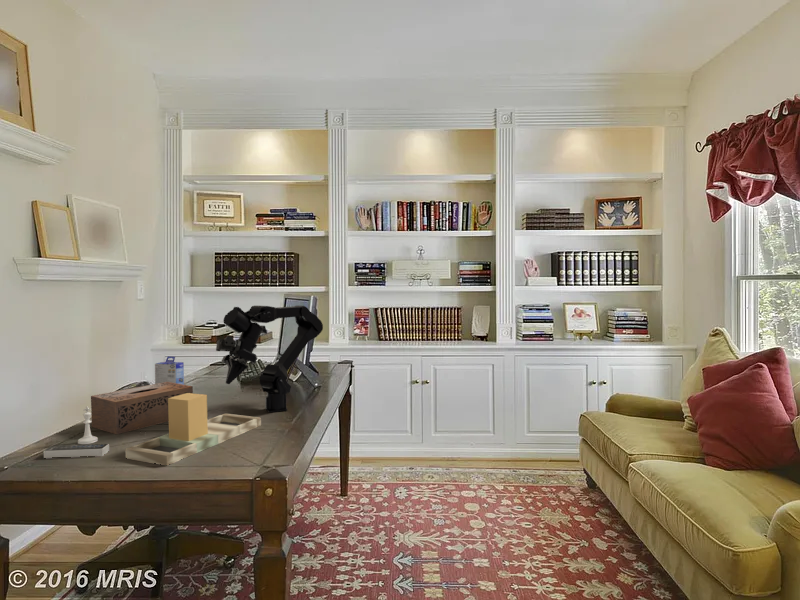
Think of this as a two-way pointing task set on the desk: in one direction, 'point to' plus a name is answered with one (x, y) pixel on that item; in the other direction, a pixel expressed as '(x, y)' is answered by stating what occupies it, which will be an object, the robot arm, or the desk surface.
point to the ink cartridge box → (169, 371)
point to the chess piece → (87, 430)
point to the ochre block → (187, 416)
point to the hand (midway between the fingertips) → (227, 383)
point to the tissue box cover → (134, 407)
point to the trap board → (175, 450)
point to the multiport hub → (76, 450)
